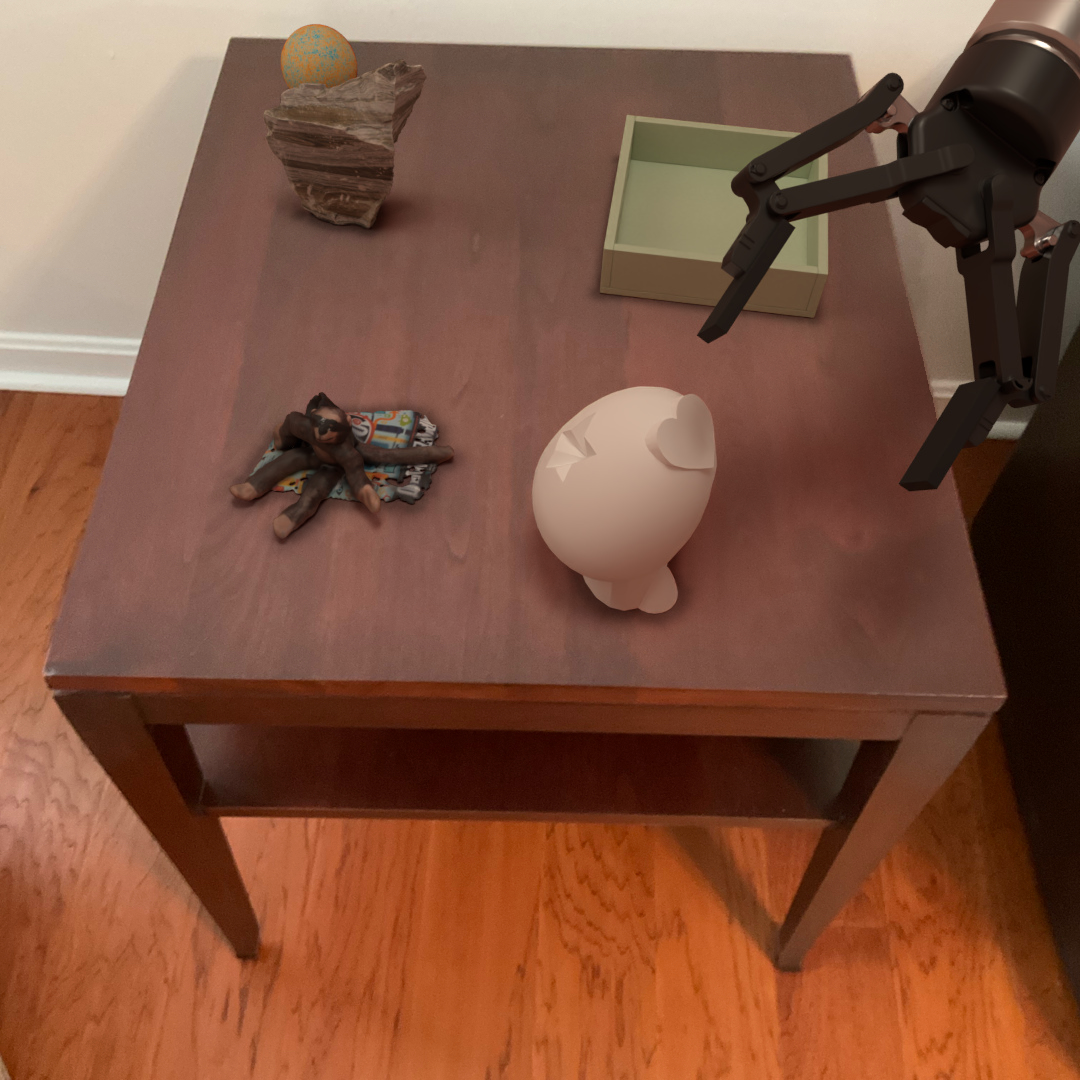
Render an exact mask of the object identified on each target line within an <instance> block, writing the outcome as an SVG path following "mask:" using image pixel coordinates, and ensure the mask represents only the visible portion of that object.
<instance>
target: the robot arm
mask: <svg viewBox="0 0 1080 1080" xmlns="http://www.w3.org/2000/svg"><path fill="white" fill-rule="evenodd" d="M947 71H948V72H947V73H946V74H945V76H944V77H943V79H942V81H941V82H940V84H939V86H938V87H937V89H936V90H935V92H934V93H933V94H932V96H931V98H930V99H929V101H928V103H927V104H926V105H925V107H924V109H923V111H920V112H919V111H918V110H917V109H916V108H915V107H914V106H913V105H912V104H911V103H910V102H909V101H908V100H907V99H906V98H905V97H904V96H903V95H902V93H903V91H904V89H905V88H904V87H905V82H904V79H903V78H902V77H901V75H900V74H898V73H896V72H888V73H887V74H885V75H884V76H883V77H882V78H881V79H880V80H878V82H876V83H875V84H874V85H872V86H871V87H870V88H869V89H868V90H867V91H866V92H865V93H863V95H861V97H860V98H859V99H858V100H857V101H856V102H855V104H854V105H851V106H850V107H848V108H846V109H844V110H842V111H841V112H838V113H837V114H835V115H833V116H831V117H829V118H828V119H826V120H824V121H822V122H820V123H817V124H816V125H814V126H812V127H810V128H809V129H807V130H804V131H803V132H800V133H801V134H799V135H797V136H796V137H794V138H792V139H790V140H788V141H786V142H784V143H782V144H781V145H779V146H777V147H775V148H773V149H771V150H769V151H767V152H766V153H764V154H762V155H760V156H758V157H756V158H754V159H753V160H752V161H751V162H750V163H749V164H747V165H746V166H745V167H744V168H743V169H742V170H741V171H740V172H739V173H738V174H737V175H736V176H735V177H734V178H733V179H732V181H731V189H732V192H733V193H734V194H735V195H736V196H738V197H742V198H743V200H744V201H745V203H746V204H747V206H748V209H749V214H748V215H747V217H746V224H745V226H744V227H743V229H742V230H741V232H740V233H739V235H738V236H737V238H736V239H735V241H734V243H733V244H732V245H731V247H730V249H729V250H728V251H727V253H726V254H725V256H724V258H723V261H722V266H721V269H722V270H724V271H725V272H726V273H728V274H729V275H730V276H732V277H733V278H734V279H733V280H732V282H731V283H730V285H729V287H728V288H727V290H726V291H725V293H724V294H723V296H722V297H721V299H720V300H719V302H718V303H717V305H716V306H714V308H713V309H712V311H711V312H710V314H709V316H708V317H707V319H706V320H705V322H704V323H703V325H702V326H701V328H700V329H699V331H698V332H697V334H696V336H697V337H698V338H699V339H701V340H702V341H703V342H705V343H706V344H707V345H708V344H710V343H712V342H714V341H716V340H718V339H720V338H721V337H723V336H725V335H727V334H728V332H729V331H730V329H731V327H733V325H734V323H735V322H736V321H737V319H738V317H739V316H740V314H741V313H742V311H743V310H742V309H743V308H744V306H745V305H746V303H747V302H748V300H749V299H750V297H751V295H752V294H753V292H754V291H755V289H756V288H757V286H758V285H759V283H760V282H761V280H762V279H763V277H764V276H765V274H766V272H767V271H768V269H769V268H770V266H771V265H772V263H773V262H774V260H775V259H776V257H777V256H778V254H779V252H780V251H781V249H782V248H783V246H784V245H785V243H786V242H787V240H788V239H789V237H790V236H791V234H792V232H793V231H794V229H795V227H794V226H793V225H792V224H790V223H789V222H792V221H796V220H800V219H804V218H808V217H813V216H817V215H821V214H825V213H828V214H829V213H833V212H837V211H840V210H844V209H849V208H853V207H857V206H862V205H865V204H870V205H873V204H876V203H882V202H884V201H889V200H893V199H898V200H899V203H900V206H901V208H902V210H903V211H902V213H901V216H903V217H904V218H906V220H908V221H909V222H910V223H912V224H914V225H917V226H919V227H921V228H923V229H925V230H926V231H927V232H928V234H929V235H930V236H931V237H932V239H933V240H934V241H935V242H936V243H937V244H939V245H940V246H941V247H942V248H944V249H945V250H946V249H949V248H954V252H955V260H956V268H957V273H958V274H959V275H961V276H962V277H963V282H964V283H963V284H964V293H965V303H966V314H967V321H968V323H967V324H968V331H969V341H970V348H971V349H970V351H971V359H972V360H971V361H972V369H973V370H972V371H973V378H974V380H973V381H969V382H965V383H961V384H958V387H957V388H956V389H955V391H954V393H953V394H952V396H951V398H950V399H949V400H948V402H947V404H946V406H944V409H943V411H942V412H941V414H940V416H938V419H937V420H936V422H935V424H934V425H933V427H932V429H931V430H930V431H929V433H928V435H927V437H926V438H925V440H924V442H923V443H922V444H921V446H920V448H919V450H918V451H917V452H916V454H915V456H914V457H913V459H912V460H911V462H910V464H909V465H908V467H907V469H906V471H905V472H904V474H903V475H902V477H901V478H900V480H899V481H898V485H899V486H900V487H902V488H903V489H905V490H906V491H907V492H910V493H911V492H919V491H933V490H938V489H939V487H940V485H941V484H942V482H943V480H944V479H945V477H946V476H947V474H948V472H949V471H950V469H951V467H952V466H953V464H954V463H955V462H956V459H957V457H958V456H959V454H960V453H961V451H962V450H965V449H971V448H977V447H978V446H980V445H981V444H982V443H984V442H985V440H987V437H988V436H989V434H990V432H991V431H992V429H993V427H994V426H995V424H996V423H997V421H998V420H999V418H1000V417H1001V415H1002V413H1003V411H1004V410H1005V408H1006V406H1007V405H1009V407H1011V408H1013V409H1020V408H1021V409H1022V408H1025V407H1032V406H1036V405H1041V404H1042V405H1043V404H1046V403H1050V402H1051V401H1052V400H1053V399H1054V398H1055V394H1056V389H1057V379H1058V371H1059V361H1060V352H1061V344H1062V335H1063V334H1062V333H1063V327H1064V319H1065V318H1064V317H1065V310H1066V309H1065V308H1066V300H1067V291H1068V284H1069V283H1068V282H1069V275H1070V274H1069V273H1070V264H1071V263H1072V260H1073V259H1074V257H1075V254H1076V251H1077V250H1078V247H1079V245H1080V222H1079V221H1078V220H1076V219H1071V220H1067V221H1065V222H1063V223H1061V222H1059V221H1057V220H1056V219H1054V218H1052V217H1050V215H1048V214H1046V213H1044V212H1043V211H1041V210H1039V209H1040V198H1041V193H1042V190H1043V188H1044V186H1045V185H1046V184H1047V183H1048V181H1049V180H1050V179H1051V177H1052V176H1053V174H1054V172H1055V171H1056V170H1057V168H1058V166H1059V165H1060V164H1061V161H1062V160H1063V158H1064V157H1065V155H1066V154H1067V152H1068V150H1069V149H1070V147H1071V146H1072V144H1073V143H1074V141H1075V139H1076V137H1077V136H1078V134H1079V133H1080V0H994V2H993V3H992V5H991V6H990V7H989V9H988V11H987V12H986V13H985V15H984V17H983V18H982V19H981V21H980V22H979V24H978V26H977V27H976V29H975V30H974V31H973V33H972V35H971V36H970V38H969V39H968V40H967V42H966V45H965V46H964V48H963V51H962V53H960V54H959V55H958V56H957V58H956V59H955V61H954V62H953V64H952V65H951V67H949V70H947ZM888 130H893V131H895V132H897V134H896V141H895V143H896V144H895V146H896V159H895V160H892V161H890V162H889V163H884V164H882V165H878V166H873V167H869V168H865V169H861V170H856V171H851V172H848V173H844V174H840V175H836V176H831V177H828V178H827V179H822V180H818V181H814V182H810V183H806V184H801V185H797V186H793V187H789V188H785V189H781V190H780V189H779V187H778V186H777V184H776V183H775V181H777V180H778V179H780V178H782V177H784V176H786V175H788V174H790V173H791V172H793V171H795V170H797V169H799V168H801V167H803V166H804V165H806V164H808V163H810V162H812V161H814V160H816V159H817V158H819V157H821V156H823V155H825V154H827V153H828V154H829V153H831V152H832V151H834V150H835V149H838V148H840V147H842V146H844V145H845V144H847V143H849V142H850V141H852V140H853V139H855V138H856V137H857V136H858V135H859V134H861V133H862V132H863V131H865V132H866V133H868V134H875V135H880V134H882V133H883V132H885V131H888ZM1017 230H1018V231H1019V232H1020V233H1021V235H1022V236H1023V240H1024V241H1023V246H1022V247H1021V248H1020V250H1019V254H1020V256H1021V257H1022V258H1024V261H1023V263H1022V266H1021V270H1020V273H1019V278H1018V279H1019V280H1018V287H1017V296H1016V293H1015V283H1014V274H1013V262H1014V260H1015V258H1016V256H1017V241H1016V231H1017ZM987 241H988V243H987V247H986V248H985V249H984V250H982V246H981V244H982V243H984V242H987Z"/></svg>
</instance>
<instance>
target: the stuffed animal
mask: <svg viewBox="0 0 1080 1080" xmlns="http://www.w3.org/2000/svg"><path fill="white" fill-rule="evenodd" d="M421 416H422V413H420V412H418V411H414V410H412V409H409V410H408V409H407V410H405V409H400V410H385V411H383V410H377V411H374V412H370V411H355V412H353V411H351V412H345V410H344V409H342V408H341V407H339V406H338V405H337V404H335V403H334V401H332V400H331V398H329V397H328V396H327V394H326V393H325V392H323V391H320V392H318V394H316V395H314V396H312V398H311V399H310V400H309V402H308V403H307V404H306V409H305V414H304V413H303V412H301V411H297V410H294V411H291V412H290V413H288V414H287V415H286V416H285V419H284V421H283V422H279V423H278V424H277V425H275V426H274V427H273V429H272V433H271V435H272V437H273V438H272V440H271V442H270V444H269V445H268V449H266V451H265V452H264V454H263V455H262V456H261V459H260V461H259V462H258V463H257V464H256V466H255V467H254V468H253V472H252V473H250V474H249V475H248V477H247V478H246V479H245V481H244V483H237V484H233V485H231V486H229V488H228V490H229V492H230V494H231V495H232V496H233V497H234V498H236V499H238V500H240V501H241V500H242V501H245V502H247V501H249V502H250V501H253V500H254V499H258V498H261V497H262V496H264V495H265V494H266V493H268V492H270V491H273V492H277V491H278V492H286V491H291V490H292V491H293V492H294V493H295V494H299V495H300V496H299V498H298V499H297V501H296V502H294V503H292V504H290V505H289V506H288V507H286V508H285V509H283V510H282V511H281V512H280V514H279V515H278V516H276V517H275V518H274V519H273V520H272V529H273V533H274V535H276V536H277V537H278V538H280V539H285V538H286V537H287V536H289V535H290V534H291V533H292V532H293V531H295V530H297V529H298V528H299V527H300V526H302V525H303V524H304V523H305V522H306V521H307V520H308V519H309V518H311V517H313V516H314V515H315V514H316V511H317V509H318V507H319V505H320V503H321V502H322V501H323V500H326V499H329V498H332V499H338V500H339V499H341V500H346V501H348V502H349V501H350V502H351V501H355V502H361V503H362V504H363V505H364V506H365V507H366V508H367V509H368V510H369V511H370V513H371V514H374V515H377V514H379V513H380V512H381V509H382V500H383V501H384V502H393V501H394V500H397V499H399V500H401V501H402V502H407V504H410V505H411V504H412V505H414V504H415V503H416V502H415V500H420V499H421V497H423V496H424V494H425V491H427V489H429V488H430V486H431V485H430V484H431V483H432V480H433V479H432V475H431V474H433V473H435V472H436V470H437V467H438V466H439V465H440V464H441V463H443V462H446V461H449V460H450V459H451V458H452V457H453V456H454V455H455V450H454V448H453V446H451V445H437V443H435V441H436V439H438V438H439V437H440V436H439V434H438V432H439V429H438V426H437V424H433V423H431V421H430V420H429V418H428V416H426V415H425V414H424V415H423V416H424V417H423V418H421ZM419 431H425V432H423V433H422V432H421V433H420V432H419ZM273 449H274V451H272V450H273ZM411 468H414V470H410V469H411ZM421 470H422V471H421ZM423 470H424V471H423ZM409 476H411V477H410V480H409V484H406V485H404V486H399V485H393V484H390V483H389V481H388V482H387V481H386V479H395V480H396V483H402V482H404V479H405V478H407V477H409ZM374 478H376V479H379V480H374ZM302 479H306V480H302ZM291 484H293V485H291ZM423 488H424V490H425V491H423V490H422V489H423Z"/></svg>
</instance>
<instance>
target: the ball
mask: <svg viewBox="0 0 1080 1080" xmlns="http://www.w3.org/2000/svg"><path fill="white" fill-rule="evenodd" d="M280 70H281V74H282V77H283V80H284V83H285V85H286V86H287V88H288V89H291V88H295V87H299V85H300V84H301V83H313V84H319V83H321V84H326V85H325V86H326V88H327V89H330V88H332V87H335V86H338V85H341V84H343V83H344V82H346V81H348V80H350V79H354V78H357V77H358V61H357V56H356V53H355V50H354V49H353V47H352V45H351V43H350V42H349V40H348V39H347V38H346V37H345V36H344V35H343V34H342V33H341V32H339V31H338V30H336V28H333V27H331V26H329V25H325V24H321V23H311V24H310V23H309V24H307V25H304V26H300V27H299V28H297V29H296V30H294V31H293V32H292V33H291V34H290V35H289V36H288V37H287V38H286V40H285V43H284V44H283V47H282V49H281V54H280Z"/></svg>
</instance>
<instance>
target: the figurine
mask: <svg viewBox="0 0 1080 1080" xmlns="http://www.w3.org/2000/svg"><path fill="white" fill-rule="evenodd" d="M713 420H714V419H713V415H712V413H711V410H710V409H709V407H708V406H707V404H706V402H704V400H703V399H702V398H701V397H700V396H698V395H697V394H695V393H687V394H685V395H683V394H681V393H680V392H678V391H676V390H673V389H671V388H667V387H662V386H648V385H647V386H646V385H645V386H643V385H642V386H641V385H639V386H631V387H627V388H624V389H620V390H616V391H613V392H611V393H609V394H607V395H604V396H602V397H600V398H598V399H597V400H595V401H593V402H591V403H590V404H588V405H586V406H585V407H584V408H582V409H581V410H580V411H578V412H577V413H576V414H575V415H574V416H572V418H570V419H569V420H568V421H566V423H564V424H563V425H562V427H560V429H559V430H558V431H557V432H556V434H554V436H553V437H552V438H551V440H550V441H549V442H548V444H547V445H546V446H545V448H544V450H543V452H542V453H541V455H540V457H539V459H538V462H537V464H536V467H535V470H534V474H533V480H532V486H531V499H532V500H531V503H532V510H533V517H534V520H535V524H536V527H537V529H538V531H539V533H540V536H541V539H543V541H544V542H545V544H546V545H547V547H548V549H549V550H550V551H551V552H552V553H553V555H555V557H556V558H558V560H559V561H560V562H562V563H563V564H564V565H565V566H567V568H569V569H571V571H574V572H576V573H577V574H580V575H582V577H583V580H584V582H585V584H586V586H587V587H588V588H589V590H590V591H591V592H592V594H593V595H594V597H595V598H596V599H597V600H598V601H600V602H602V603H603V604H604V605H606V606H607V607H608V608H611V609H615V610H619V611H624V612H625V611H631V610H636V609H639V610H640V611H642V612H644V613H647V614H654V615H656V614H663V613H665V612H667V611H669V610H671V609H672V608H673V607H674V606H675V604H676V602H677V600H678V597H679V591H678V586H677V582H676V579H675V578H674V575H673V573H672V571H671V569H670V568H669V566H668V564H669V562H670V561H671V560H672V559H673V558H674V557H675V556H676V555H677V553H679V551H681V549H682V548H683V547H684V546H685V545H686V543H687V542H688V541H689V540H690V539H691V538H692V536H693V534H694V532H695V531H696V529H697V527H698V526H699V524H700V522H701V520H702V519H703V516H704V513H705V510H706V508H707V506H708V503H709V501H710V496H711V492H712V487H713V483H714V480H715V477H716V472H717V468H718V467H717V466H718V461H717V460H718V459H717V456H718V455H717V454H718V453H717V447H716V446H717V445H716V440H715V426H714V421H713Z"/></svg>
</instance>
